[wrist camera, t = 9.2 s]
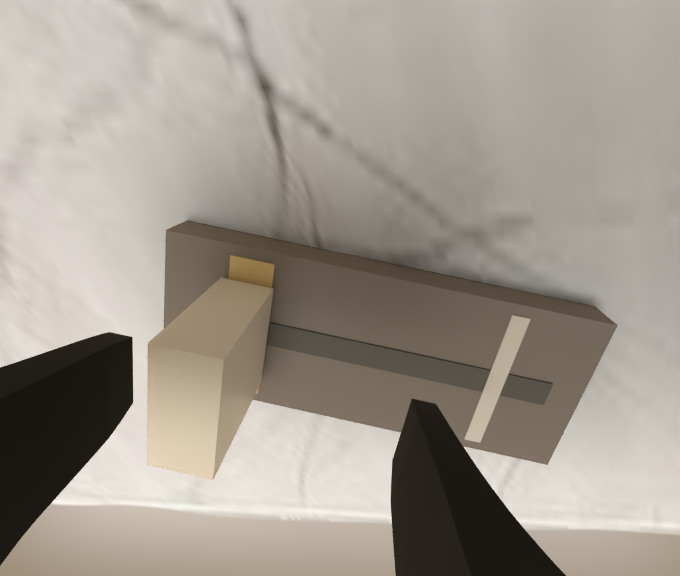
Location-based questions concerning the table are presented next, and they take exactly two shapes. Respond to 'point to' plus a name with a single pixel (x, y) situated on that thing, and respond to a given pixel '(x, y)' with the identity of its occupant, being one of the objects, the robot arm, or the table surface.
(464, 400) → the fader console
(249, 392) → the fader tab
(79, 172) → the table surface
